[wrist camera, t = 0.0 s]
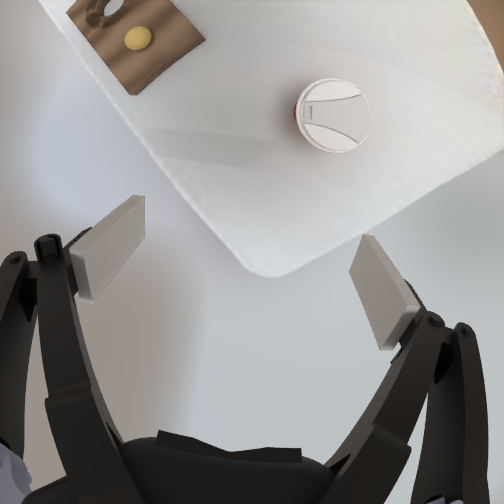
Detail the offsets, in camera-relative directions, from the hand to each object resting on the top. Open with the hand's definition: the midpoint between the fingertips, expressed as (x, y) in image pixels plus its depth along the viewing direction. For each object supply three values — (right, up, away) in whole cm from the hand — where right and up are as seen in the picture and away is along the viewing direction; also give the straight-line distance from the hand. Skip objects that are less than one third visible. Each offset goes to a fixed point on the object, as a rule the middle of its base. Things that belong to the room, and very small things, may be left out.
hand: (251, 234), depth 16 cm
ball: (-16, +29, +11) cm, 36 cm away
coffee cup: (+9, +20, +21) cm, 30 cm away
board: (-20, +37, +13) cm, 44 cm away
